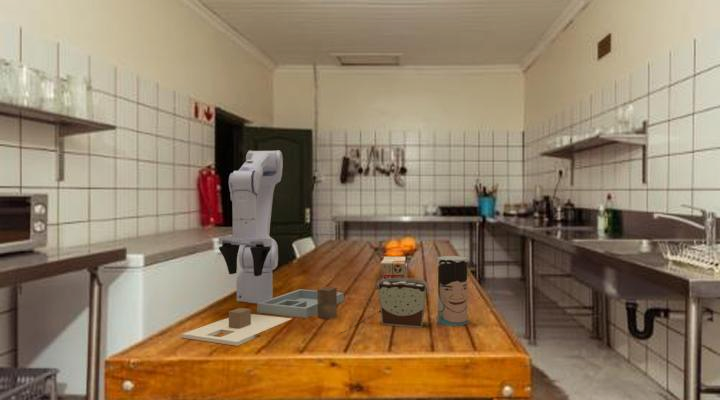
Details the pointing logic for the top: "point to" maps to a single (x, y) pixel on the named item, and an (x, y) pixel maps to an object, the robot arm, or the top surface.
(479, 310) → the top surface
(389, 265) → the stack of blocks
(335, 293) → the walnut key
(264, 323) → the lid
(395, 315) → the food container
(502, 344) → the top surface
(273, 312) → the shallow tray
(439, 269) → the cup
